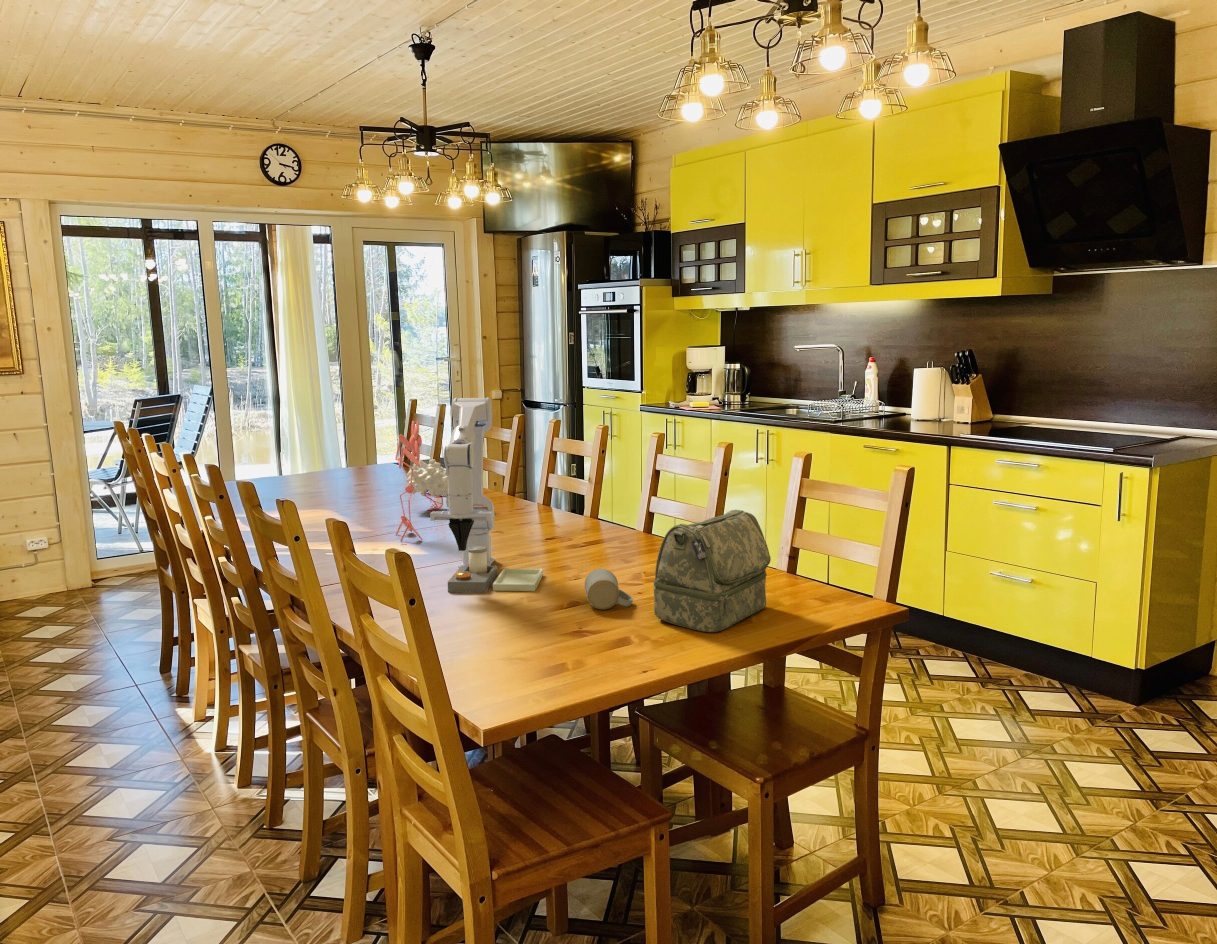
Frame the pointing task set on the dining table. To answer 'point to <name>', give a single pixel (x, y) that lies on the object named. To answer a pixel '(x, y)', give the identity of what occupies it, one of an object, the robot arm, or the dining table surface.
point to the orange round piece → (463, 575)
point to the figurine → (414, 456)
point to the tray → (518, 580)
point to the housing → (473, 580)
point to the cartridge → (477, 559)
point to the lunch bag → (711, 572)
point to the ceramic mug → (605, 590)
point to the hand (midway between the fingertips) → (462, 549)
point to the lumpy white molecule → (429, 481)
